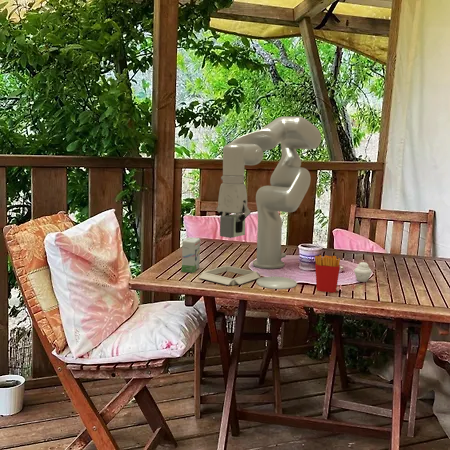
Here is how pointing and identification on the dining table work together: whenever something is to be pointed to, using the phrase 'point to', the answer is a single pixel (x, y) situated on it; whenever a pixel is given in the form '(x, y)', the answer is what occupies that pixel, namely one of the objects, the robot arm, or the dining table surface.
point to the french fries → (327, 273)
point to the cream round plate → (276, 282)
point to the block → (230, 226)
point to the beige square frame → (246, 277)
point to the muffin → (362, 272)
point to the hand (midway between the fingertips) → (232, 230)
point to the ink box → (190, 254)
